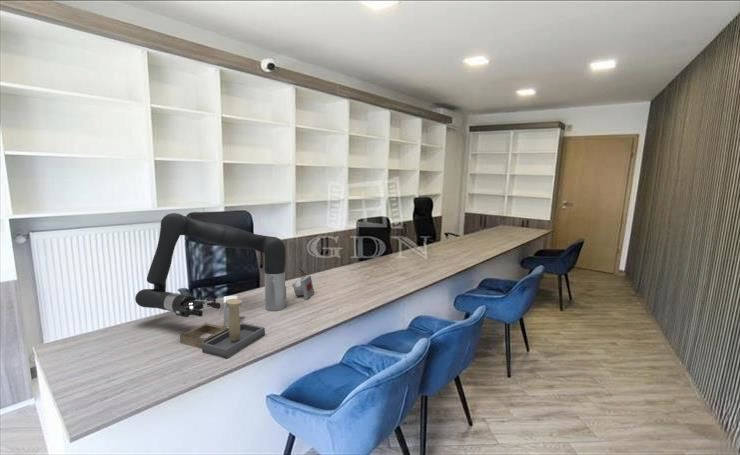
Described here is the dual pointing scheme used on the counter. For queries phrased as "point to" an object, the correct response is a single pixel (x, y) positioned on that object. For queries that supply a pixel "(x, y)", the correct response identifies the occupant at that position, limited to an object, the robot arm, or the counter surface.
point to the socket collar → (193, 334)
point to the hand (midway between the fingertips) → (211, 309)
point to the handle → (234, 318)
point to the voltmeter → (304, 287)
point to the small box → (227, 309)
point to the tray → (227, 348)
